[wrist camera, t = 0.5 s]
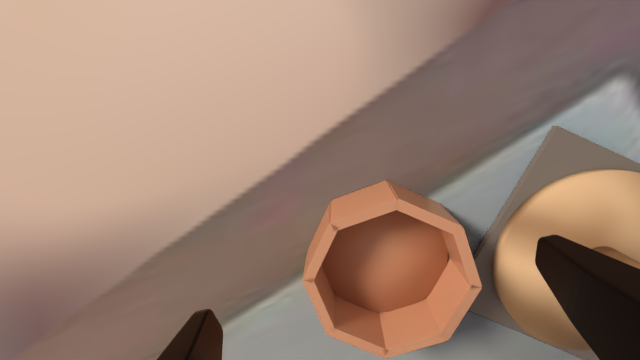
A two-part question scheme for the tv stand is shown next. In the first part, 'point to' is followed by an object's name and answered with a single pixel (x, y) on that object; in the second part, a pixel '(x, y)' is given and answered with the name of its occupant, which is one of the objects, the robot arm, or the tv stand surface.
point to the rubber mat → (547, 166)
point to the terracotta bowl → (390, 270)
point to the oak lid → (574, 224)
